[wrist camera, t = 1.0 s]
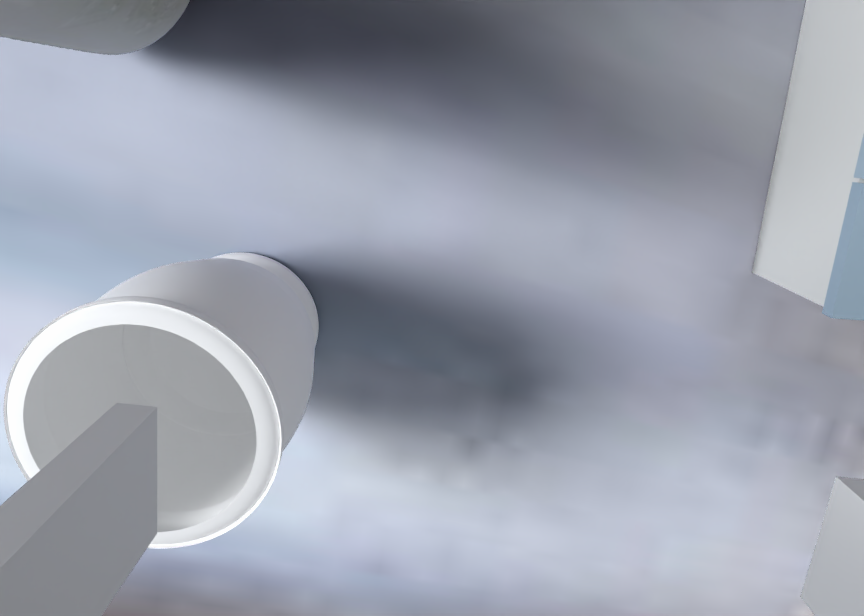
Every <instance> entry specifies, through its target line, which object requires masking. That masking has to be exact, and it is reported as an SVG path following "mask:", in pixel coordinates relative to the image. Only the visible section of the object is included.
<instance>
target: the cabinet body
mask: <svg viewBox="0 0 864 616" xmlns="http://www.w3.org/2000/svg"><path fill="white" fill-rule="evenodd" d="M863 134H864V0H806V4H805V9H804V14H803V19H802V24H801V29H800V34H799V39H798V44H797V50H796V55H795V60H794V65H793V70H792V75H791V80H790V85H789V90H788V95H787V100H786V105H785V110H784V115H783V120H782V125H781V130H780V135H779V140H778V145H777V150H776V155H775V160H774V165H773V170H772V175H771V180H770V185H769V190H768V195H767V200H766V205H765V210H764V215H763V220H762V225H761V230H760V235H759V240H758V245H757V250H756V255H755V260H754V265H753V270H752V273H754V274H756V275H758V276H760V277H762V278H765V279H767V280H769V281H771V282H773V283H775V284H777V285H779V286H781V287H783V288H785V289H787V290H790V291H792V292H794V293H796V294H798V295H800V296H802V297H804V298H806V299H808V300H810V301H812V302H815V303H817V304H819V305H821V306H823V307H824V303H825V298H826V294H827V290H828V285H829V281H830V277H831V272H832V268H833V264H834V259H835V255H836V251H837V246H838V242H839V238H840V233H841V229H842V225H843V221H844V216H845V212H846V208H847V203H848V199H849V195H850V190H851V186H852V182H859V183H864V179H862V178H854V173H855V169H856V164H857V160H858V156H859V151H860V147H861V143H862V138H863Z"/></svg>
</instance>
